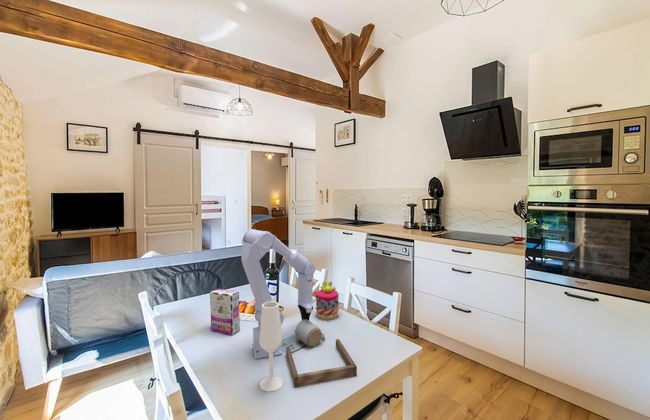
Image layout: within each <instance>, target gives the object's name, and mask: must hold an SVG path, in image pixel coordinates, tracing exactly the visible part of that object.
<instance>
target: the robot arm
mask: <svg viewBox="0 0 650 420" xmlns="http://www.w3.org/2000/svg"><path fill="white" fill-rule="evenodd" d="M241 244H242V249H241V264H242V267H243V270H244V272H245V274H246V277H247V281H248V284H249V286H250V290H251V292H252V295H253V297H254V300H255V305H254V306H253V308H254V319H255V320H256V321H257V325H258V326H256V327H253V329H252V336H253V337H252V339H253V343H252V345H251V346H252V350H253V359H260V358H267V357H268V358H269V353H268V352H266V351H265V350H263V349H262V347H261V346H260V344H259V339H260V326H261V314H262V304H264V303H266V302H274V300H273V299H272V295H271V292H270V290H269V286H268V284H267V280H266V277H265V274H264V271H263V268H262V266H261V262H260V260H261V259H262V258H263V257H264V256H265V255H266V254H267V253H268V252H269V250H273V251H275V252H276V253H278V254H279V255H281V256H282V257H283V258H284V261H285V263H286V264H288V265H289V266H290V267H292V268H293V269H294V271H295V272H296V273H297V308H298V310H299V312H300V318H301V321H302V320H304V319H307V320H309V321H310V318H311V314H312V313H313V311H314V306H313V304H314V303H316V298H313V280H314V274H315V273H316V267H317V266H316V265H315V263H314V261H311V260H309V259H307V257H306V256H305V255H302V254H301V253H300V250H299V249H290V248H289V247H287V246H286V245H285V243H283V242H282V241H281V240H280V239H278V238H277V236H276V235H274V234H273V233H271V232H270V231H267V230H258V229H255V228H250V229H248V230H247V231H246V232H244V235H243V236H242V238H241ZM279 313H280V322H281V326H282V325H283V323H284V319H285V318H284V317H285V316H284V314H283V312H282V311H280V310H279ZM282 353H283V351H282V347H281V346H280V347H279V348H278V349H277V350H276V351H275V352H273V357H274V356H282V355H283V354H282Z"/></svg>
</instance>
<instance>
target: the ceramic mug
mask: <svg viewBox="0 0 650 420" xmlns="http://www.w3.org/2000/svg"><path fill="white" fill-rule="evenodd" d="M294 334H295V337H296V338H297V339H298V340H299V341H300V342H302V343H304V344H305V345H307V346H309V347H315V346H317V345H318V344H320V341H322V340H323V341H324V339H325V337H326V336H325V334H324V333H323V332H322V330H321V329H320V327H318V326H317V325H316V324H315V323H313V322H312V321H311V320H310V319H309V320H307V319H304V320H302V319H301V321H299V322H298V323H297V325H296V326H295V330H294Z"/></svg>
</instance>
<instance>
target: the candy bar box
mask: <svg viewBox="0 0 650 420" xmlns="http://www.w3.org/2000/svg"><path fill="white" fill-rule="evenodd" d="M209 296H210V299H209V300H210V305H209V306H210V331H211V332H215V333H219V334H225V335H228V336H234V335H235V334H237V333H238V332H240V330H241V327H240V326H241V324H240V322H241V321H240V320H241V319H240V292H239V291H236V290H229V289H222V288H216V289H214V290H212V291H210V293H209Z"/></svg>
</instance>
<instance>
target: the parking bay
mask: <svg viewBox="0 0 650 420" xmlns="http://www.w3.org/2000/svg"><path fill="white" fill-rule="evenodd" d="M335 348H336V351H337V352H338V354H339V356H340V357H341V359H342V361H343V362H344V364H345V365H344V366H339V367H333V368H327V369H323V370H322V369H320V370H316V371H315V370H314V371H310V372H305V373H304V372H303V373H299V374H298V370H297V367H296V363H295V360H294V358H293V354H292V353H293V352H292V351H291V348H290V346H285V355H286V356H285V357H286V360H287V364H288V368H289V372H290V375H291V381H292V383H293V387H294V388H300V387H305V386H309V385H316V384H320V383H321V384H322V383H327V382H331V381H337V380H341V379H347V378H352V377H353V378H354V377H357V375H358V373H357V372H358V370H357V369H358V366H357V365H356V363H355V361H354V360H353V358H352V357H351V355H350V354H349V352H348V351H347V349H346V348H345V346H344V345H343V343H342V342H341V340H340V339H339V338H337V339H335Z"/></svg>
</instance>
